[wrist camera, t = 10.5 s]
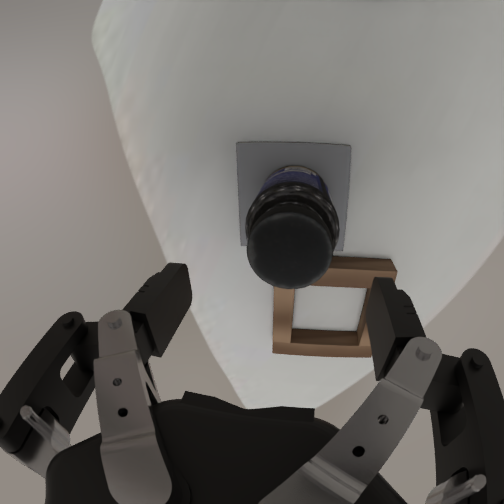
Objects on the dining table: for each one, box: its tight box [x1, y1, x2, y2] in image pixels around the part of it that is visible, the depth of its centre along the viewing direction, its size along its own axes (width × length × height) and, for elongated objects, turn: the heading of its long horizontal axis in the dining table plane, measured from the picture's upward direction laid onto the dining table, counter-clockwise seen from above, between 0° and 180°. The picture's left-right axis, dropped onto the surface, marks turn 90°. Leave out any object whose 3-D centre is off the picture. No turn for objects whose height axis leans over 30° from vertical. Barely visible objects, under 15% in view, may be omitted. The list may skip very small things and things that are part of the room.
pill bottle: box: [245, 165, 340, 289], centre depth 19 cm, size 6×6×11 cm
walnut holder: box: [272, 256, 397, 357], centre depth 29 cm, size 12×12×2 cm
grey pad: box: [236, 142, 351, 251], centre depth 25 cm, size 10×10×1 cm
